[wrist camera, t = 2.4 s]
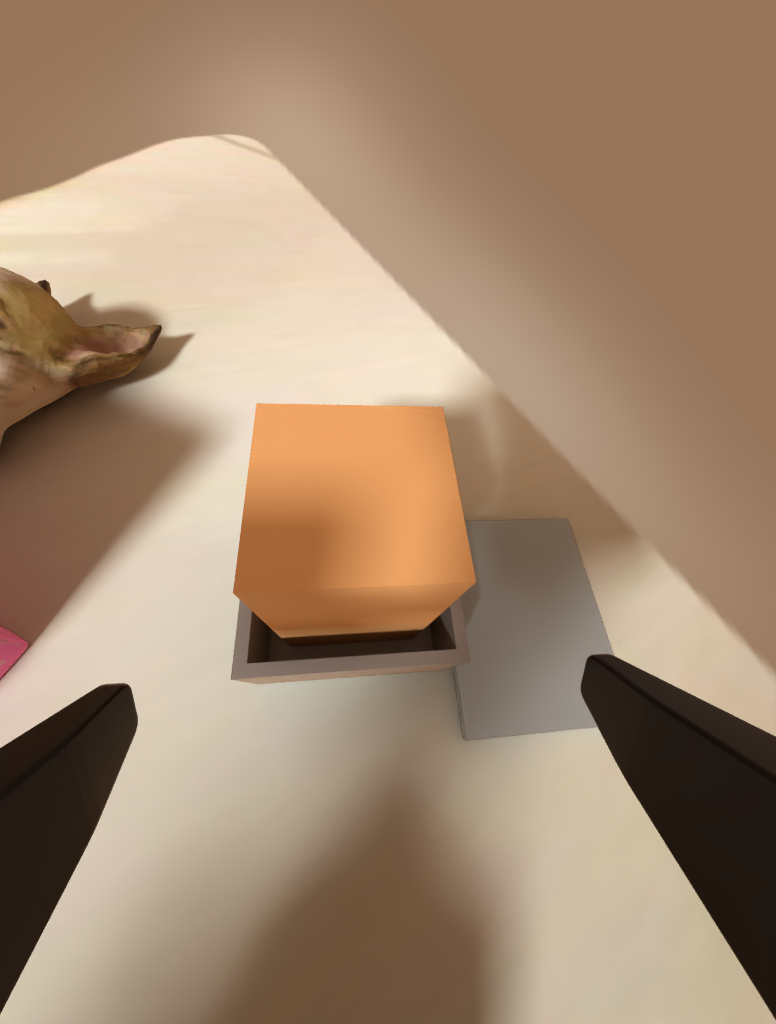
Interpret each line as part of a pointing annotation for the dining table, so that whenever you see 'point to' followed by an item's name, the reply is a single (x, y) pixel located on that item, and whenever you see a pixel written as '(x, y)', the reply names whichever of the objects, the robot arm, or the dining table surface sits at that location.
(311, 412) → the orange box
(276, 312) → the dining table surface
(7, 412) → the ceramic sculpture
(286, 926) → the dining table surface
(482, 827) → the dining table surface
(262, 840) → the dining table surface
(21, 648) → the gum box
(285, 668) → the parts bin
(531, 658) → the mat
